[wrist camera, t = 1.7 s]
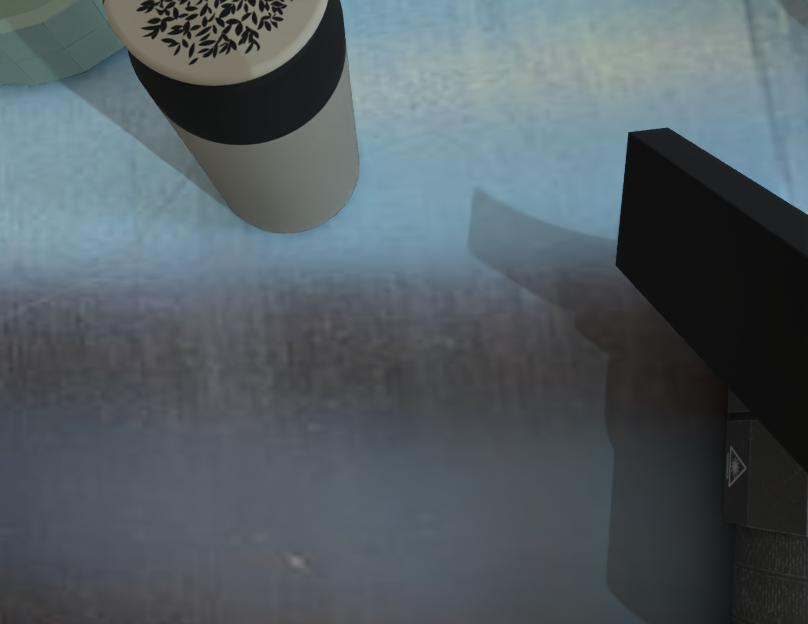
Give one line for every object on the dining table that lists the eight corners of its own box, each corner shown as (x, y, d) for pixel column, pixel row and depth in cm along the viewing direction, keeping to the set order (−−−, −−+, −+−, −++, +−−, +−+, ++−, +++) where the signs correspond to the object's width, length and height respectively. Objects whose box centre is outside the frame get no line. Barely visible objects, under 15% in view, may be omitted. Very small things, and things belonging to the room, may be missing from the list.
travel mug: (388, 159, 42) (387, -39, 24) (293, 264, 41) (221, 137, 23) (282, 72, 43) (207, -182, 25) (187, 172, 42) (37, -18, 24)
